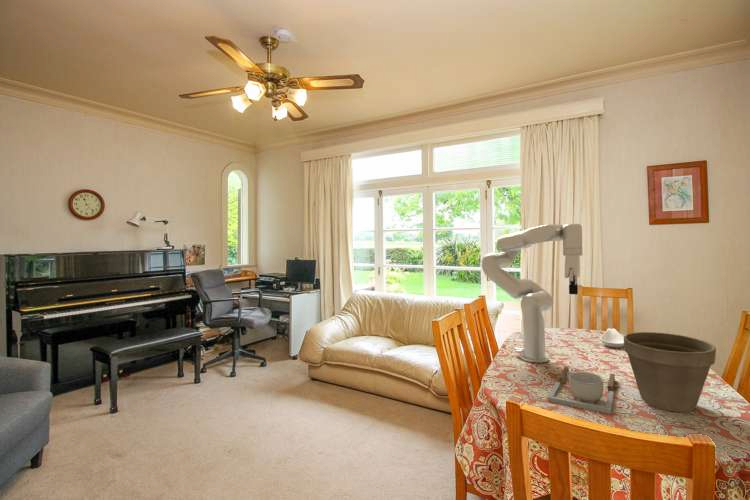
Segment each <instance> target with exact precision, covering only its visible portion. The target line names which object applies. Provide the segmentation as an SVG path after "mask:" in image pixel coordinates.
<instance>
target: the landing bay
mask: <svg viewBox="0 0 750 500" xmlns="http://www.w3.org/2000/svg"><path fill="white" fill-rule="evenodd" d="M561 385H562V384H560V382H559V381H555V383H554V385H553V387H552V388H551V390H550V392H549V393H548V396H547V402H550V403H555V404H560V405H564V406H569V407H575V408H578V409H583V410H588V411H594V412H598V413H602V414H607V415H612V411H613V404H614V398H615V392H614V391H613V392H612V391H609V392H607V393H608V394H607V399H606V404H605V406H603V405H599V404H593V403H590V402H584V401H580V400H579V401H578V400H573V399H568V398H562V397H558V396H557V394H558V392H559V390H560V387H562V386H561Z"/></svg>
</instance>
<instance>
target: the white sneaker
mask: <svg viewBox="0 0 750 500" xmlns="http://www.w3.org/2000/svg"><path fill="white" fill-rule="evenodd" d="M600 342H601V343H602V344H604V345H605V346H607V347H609V348H615V349H616V348H623V347H624V336H623V335H622V334H621V333H620V332H619V331H618V330H617V329H616V328H607V329H606V331H605V332H604V333H603V334H602V335H601V336H600Z"/></svg>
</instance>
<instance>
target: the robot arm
mask: <svg viewBox="0 0 750 500" xmlns="http://www.w3.org/2000/svg"><path fill="white" fill-rule="evenodd" d="M561 241H562V256H564V278H565V279H568V294H569V295H578V294H579V293H578V292H579V291H578V289H579V285H578V278H579V277H580V276H581V275H580V274H581V265H580V264H581V262H580V261H581V258H580V256H581V257H582V256H583V255H584V254H583V226H582V224H580V223H567V224H566V223H565V224H557V223H556V224H551V223H549V224H544V225H542V224H541V225H538V226H535V227H530V228H527V229H525V230H522V231H521V230H520V231H517V232H513V233H507V234H503V235H502V236H500V237H499V238H498V239H497V241H496V246H497V248H498V249H499V250H500V251H501V252H490V253H488V254H486V255H484V257H483V258H482V260H481V268H482V271H483V273H484V275H485V276H486V277H487V278H488V279H489V280H490V281H491V282H493V283H494V284H495V285H497V286H498V287H499V288H500V289H501V290H502V291H504V292H505V293H506V294H507V295H509V296H510V297H511V298H513V299H516V300H519V299H521V300H520V310H521V313H522V314H521V315H522V331H523V332H522V333H523V337H522V338H523V340H522V341H523V347H521V348H519V347H514V352H515V353H517V354H520V359H521V360H522V361H525V362H529V363H537V364H538V363H539V364H541V363H543V364H544V363H547V362H549V361H550V357H549V356H548V355H546V332H545V331H546V329H545V318H544V315H543V312H546V311H548V310H551V309H552V307H553V306H554V298H553V297H552V295H551V293H549V292H548V291H547V290H545V289H544V288H542V287H541V286H540V285H538V283H536V282H535V281H533V280H531V279H529V278H516V277H514V276H513V275H512V274H511V273H509V272H508V271H507V270H504V269H506V268H507V269H508V268H509V267H510V266H511V265H512V264H513V263H514V261H515V259H516V258H517V256H518V255H519V254H520V253H521V250H523V249H528V248H530V247H532V246H533V245H535V244H541V243H544V242H545V243H546V242H561Z"/></svg>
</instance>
